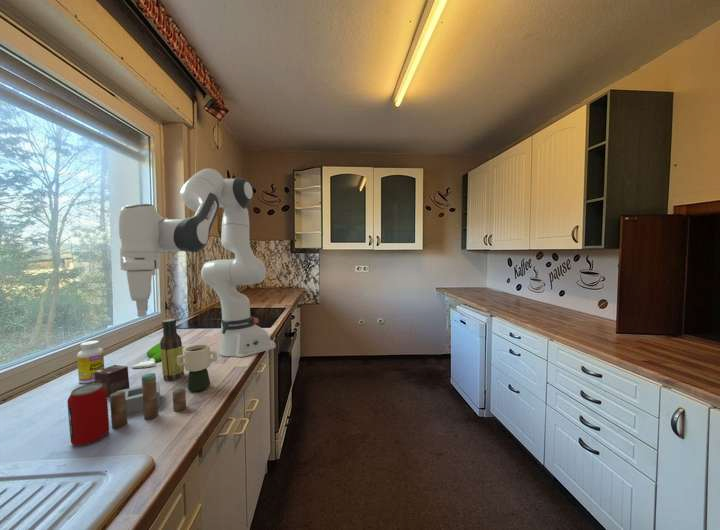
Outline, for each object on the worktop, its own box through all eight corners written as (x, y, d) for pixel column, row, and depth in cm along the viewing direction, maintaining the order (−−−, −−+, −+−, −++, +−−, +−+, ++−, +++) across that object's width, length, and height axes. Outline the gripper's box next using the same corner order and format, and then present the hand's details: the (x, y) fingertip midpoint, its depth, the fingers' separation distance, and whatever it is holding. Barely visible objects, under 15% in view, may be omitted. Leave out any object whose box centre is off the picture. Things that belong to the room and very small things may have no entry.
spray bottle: (184, 346, 138) (160, 368, 114) (157, 349, 135) (127, 371, 112) (183, 340, 137) (159, 361, 114) (156, 342, 135) (126, 364, 111)
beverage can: (87, 430, 74) (83, 382, 73) (116, 428, 74) (113, 381, 74) (62, 449, 67) (57, 396, 66) (95, 447, 68) (91, 394, 67)
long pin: (158, 412, 82) (155, 372, 81) (158, 417, 79) (155, 376, 78) (144, 415, 80) (141, 375, 79) (144, 421, 77) (141, 379, 77)
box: (130, 389, 96) (128, 366, 95) (109, 398, 90) (107, 374, 90) (116, 386, 98) (115, 364, 97) (95, 395, 92) (93, 371, 92)
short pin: (185, 404, 85) (184, 387, 85) (186, 409, 83) (185, 391, 82) (173, 408, 84) (172, 390, 83) (173, 413, 81) (172, 394, 81)
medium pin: (127, 420, 78) (125, 389, 78) (126, 425, 76) (124, 394, 75) (112, 424, 76) (110, 393, 76) (111, 430, 74) (108, 398, 73)
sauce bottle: (188, 373, 107) (184, 317, 106) (178, 381, 101) (174, 321, 99) (169, 374, 107) (166, 318, 105) (158, 382, 100) (154, 322, 99)
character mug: (219, 380, 100) (217, 341, 100) (217, 389, 94) (215, 348, 93) (181, 386, 96) (178, 346, 96) (176, 397, 90) (174, 353, 89)
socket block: (159, 394, 91) (159, 381, 91) (160, 406, 85) (159, 392, 85) (117, 404, 86) (116, 391, 86) (114, 417, 79) (113, 402, 79)
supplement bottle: (89, 384, 99) (86, 346, 99) (73, 383, 101) (70, 345, 100) (110, 376, 106) (107, 340, 105) (94, 375, 107) (92, 339, 107)
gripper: (129, 263, 90) (131, 310, 90) (122, 263, 73) (124, 321, 73) (155, 262, 93) (157, 307, 94) (154, 262, 76) (156, 317, 76)
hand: (143, 313), depth 83 cm, fingers open, 8 cm apart
